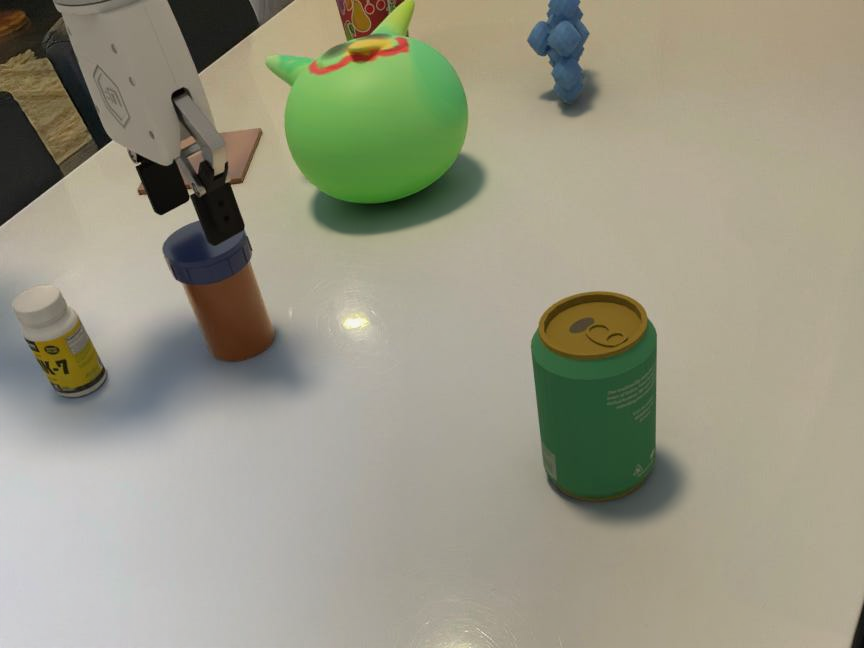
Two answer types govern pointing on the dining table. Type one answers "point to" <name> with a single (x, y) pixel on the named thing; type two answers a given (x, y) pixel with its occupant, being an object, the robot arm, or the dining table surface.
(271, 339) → the jar
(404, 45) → the toy bird
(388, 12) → the smoothie
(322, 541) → the dining table surface
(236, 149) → the coaster
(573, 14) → the grapes
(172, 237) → the lid
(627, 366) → the beverage can
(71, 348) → the supplement bottle
